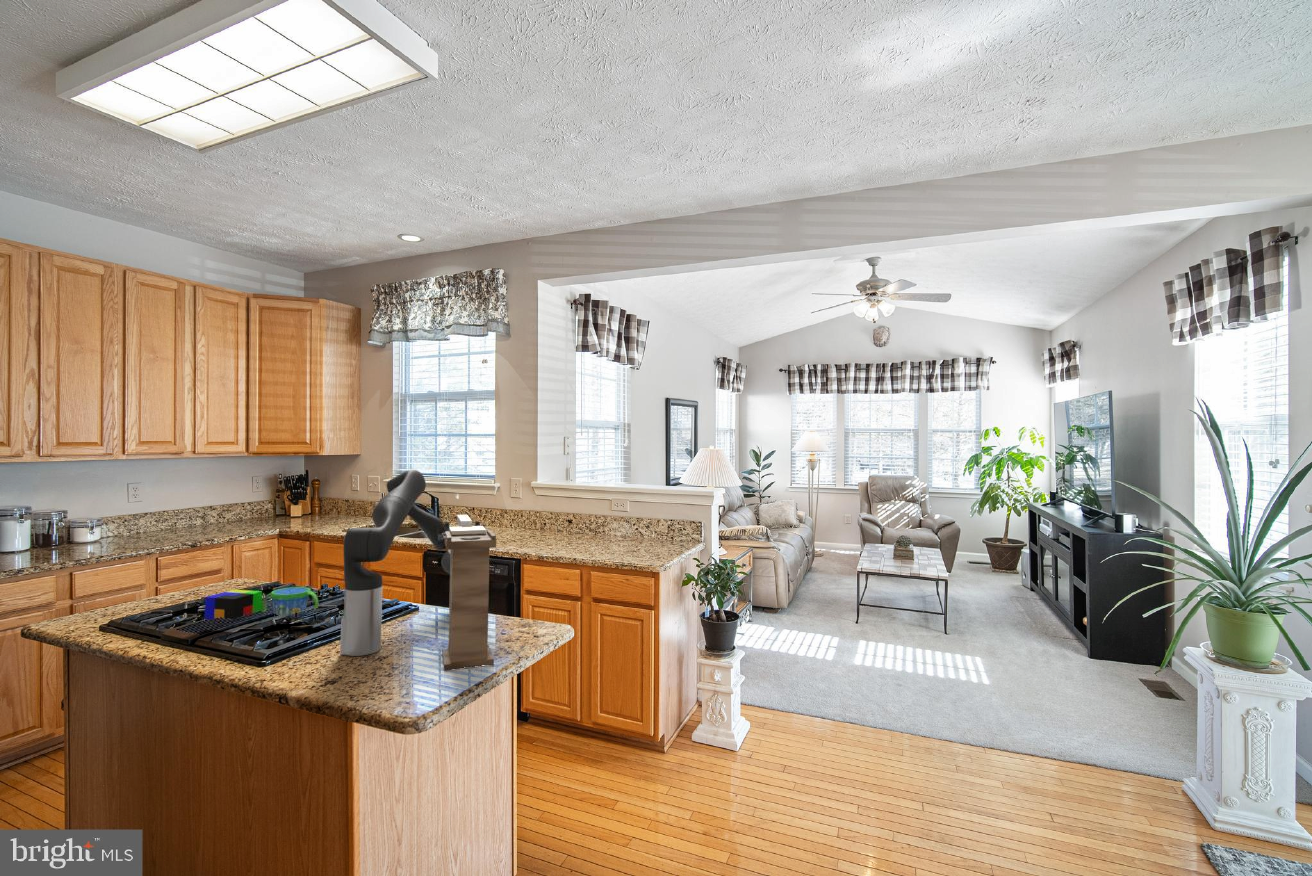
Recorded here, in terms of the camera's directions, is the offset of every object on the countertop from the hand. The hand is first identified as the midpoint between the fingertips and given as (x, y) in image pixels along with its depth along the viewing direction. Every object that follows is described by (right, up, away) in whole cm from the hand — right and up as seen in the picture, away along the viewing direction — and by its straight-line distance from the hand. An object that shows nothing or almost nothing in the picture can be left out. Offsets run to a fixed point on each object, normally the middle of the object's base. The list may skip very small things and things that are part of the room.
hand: (462, 523), depth 184 cm
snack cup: (-55, -32, +2) cm, 63 cm away
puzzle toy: (-69, -31, -3) cm, 76 cm away
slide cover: (+5, +1, -12) cm, 13 cm away
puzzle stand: (+11, -32, -29) cm, 44 cm away
